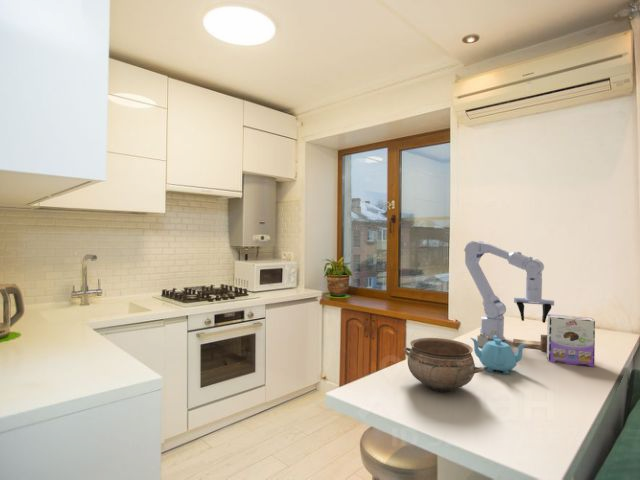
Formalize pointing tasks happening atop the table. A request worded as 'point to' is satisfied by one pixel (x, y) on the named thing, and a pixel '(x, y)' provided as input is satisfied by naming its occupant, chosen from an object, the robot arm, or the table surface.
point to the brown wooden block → (543, 343)
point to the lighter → (485, 338)
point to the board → (529, 343)
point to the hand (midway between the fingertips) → (533, 321)
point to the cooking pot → (441, 363)
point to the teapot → (498, 355)
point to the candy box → (571, 340)
